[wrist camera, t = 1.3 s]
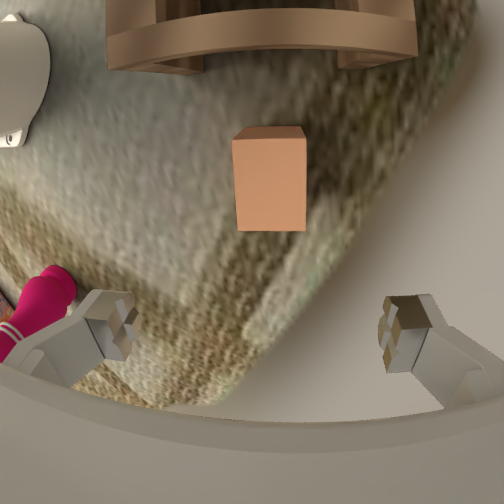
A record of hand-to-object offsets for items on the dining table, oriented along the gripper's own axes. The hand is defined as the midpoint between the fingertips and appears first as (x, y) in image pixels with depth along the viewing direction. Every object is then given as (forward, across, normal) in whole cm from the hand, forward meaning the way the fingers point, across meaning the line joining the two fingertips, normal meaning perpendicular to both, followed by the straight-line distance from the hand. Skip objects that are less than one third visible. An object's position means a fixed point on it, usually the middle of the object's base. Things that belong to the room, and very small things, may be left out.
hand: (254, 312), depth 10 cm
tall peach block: (+22, 0, 0) cm, 22 cm away
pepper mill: (+22, +32, +15) cm, 41 cm away
